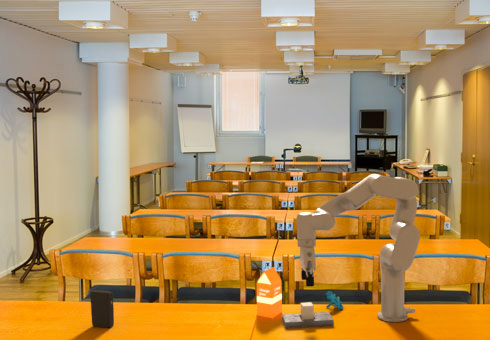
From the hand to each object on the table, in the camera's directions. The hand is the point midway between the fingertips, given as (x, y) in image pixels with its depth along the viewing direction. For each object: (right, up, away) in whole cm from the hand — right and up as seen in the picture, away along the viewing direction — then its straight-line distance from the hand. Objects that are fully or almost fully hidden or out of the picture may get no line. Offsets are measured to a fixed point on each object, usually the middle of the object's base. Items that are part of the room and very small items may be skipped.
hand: (307, 282), depth 250 cm
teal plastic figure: (+14, -15, +20) cm, 29 cm away
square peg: (0, -17, +2) cm, 17 cm away
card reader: (-85, -19, +2) cm, 88 cm away
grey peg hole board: (0, -17, +2) cm, 17 cm away
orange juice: (-15, -16, +14) cm, 26 cm away
